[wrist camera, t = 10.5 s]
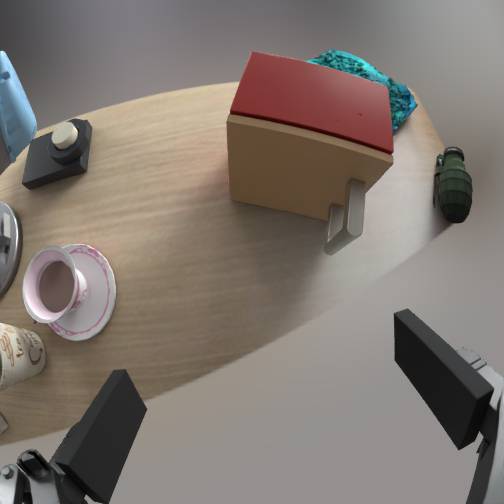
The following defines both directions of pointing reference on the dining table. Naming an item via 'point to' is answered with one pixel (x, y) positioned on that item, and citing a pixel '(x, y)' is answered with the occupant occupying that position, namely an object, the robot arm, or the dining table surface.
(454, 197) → the grenade
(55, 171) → the box
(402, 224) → the dining table surface
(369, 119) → the cabinet
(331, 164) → the wooden cabinet door
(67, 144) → the button
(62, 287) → the teacup
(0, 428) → the tall white carton
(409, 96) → the teal plastic bag
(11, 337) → the mug
